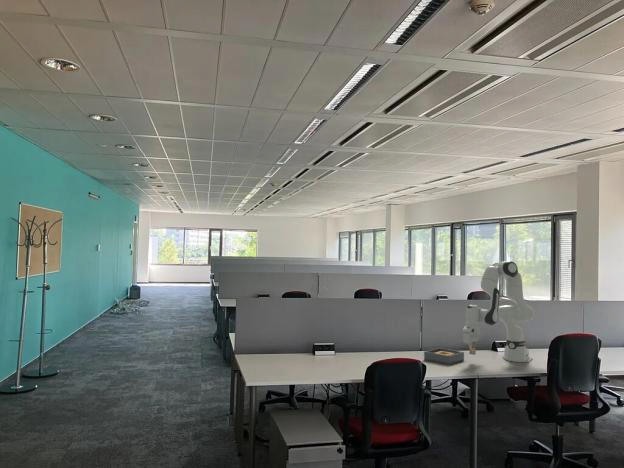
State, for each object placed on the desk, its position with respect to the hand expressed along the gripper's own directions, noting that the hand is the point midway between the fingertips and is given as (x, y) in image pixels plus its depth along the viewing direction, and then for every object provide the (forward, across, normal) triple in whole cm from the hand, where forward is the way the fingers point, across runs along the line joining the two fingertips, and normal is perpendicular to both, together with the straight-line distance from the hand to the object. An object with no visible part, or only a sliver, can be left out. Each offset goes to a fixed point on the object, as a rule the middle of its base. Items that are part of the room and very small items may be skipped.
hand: (472, 347), depth 323 cm
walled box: (+10, +8, -17) cm, 22 cm away
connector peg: (+4, 0, 0) cm, 4 cm away
